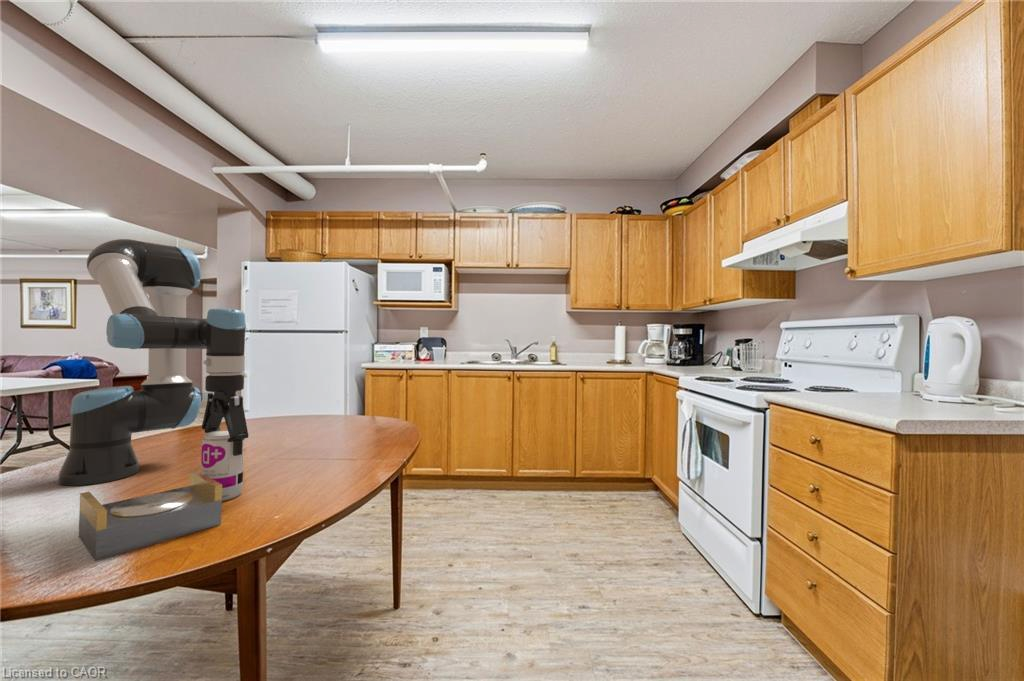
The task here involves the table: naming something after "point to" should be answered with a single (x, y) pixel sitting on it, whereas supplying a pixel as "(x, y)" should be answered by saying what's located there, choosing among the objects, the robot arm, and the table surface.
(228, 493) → the supplement can
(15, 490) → the table surface
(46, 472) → the table surface
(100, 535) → the grey boxy piece
